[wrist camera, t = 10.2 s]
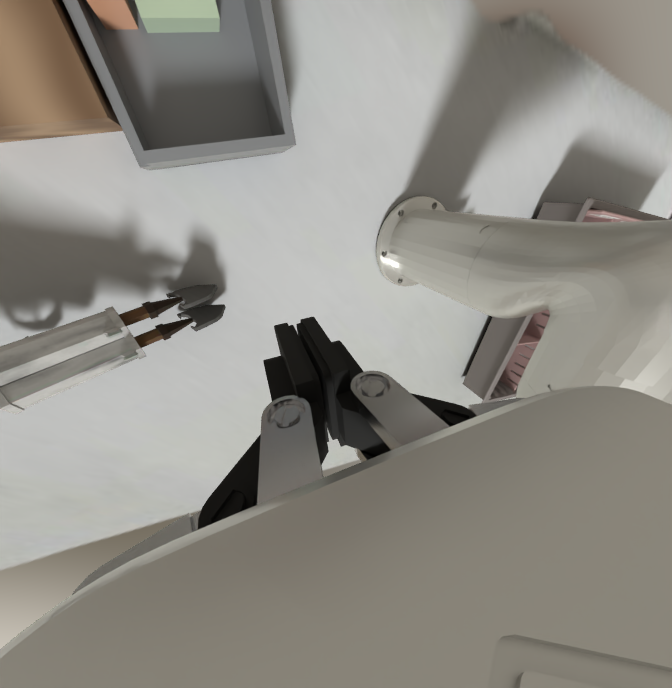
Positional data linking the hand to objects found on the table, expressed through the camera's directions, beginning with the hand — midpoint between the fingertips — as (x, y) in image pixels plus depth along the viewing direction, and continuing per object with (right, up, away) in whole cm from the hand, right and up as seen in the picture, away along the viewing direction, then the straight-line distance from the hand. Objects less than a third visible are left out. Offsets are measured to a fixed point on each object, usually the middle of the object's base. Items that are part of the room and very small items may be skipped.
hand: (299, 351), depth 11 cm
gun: (-26, +3, +18) cm, 32 cm away
